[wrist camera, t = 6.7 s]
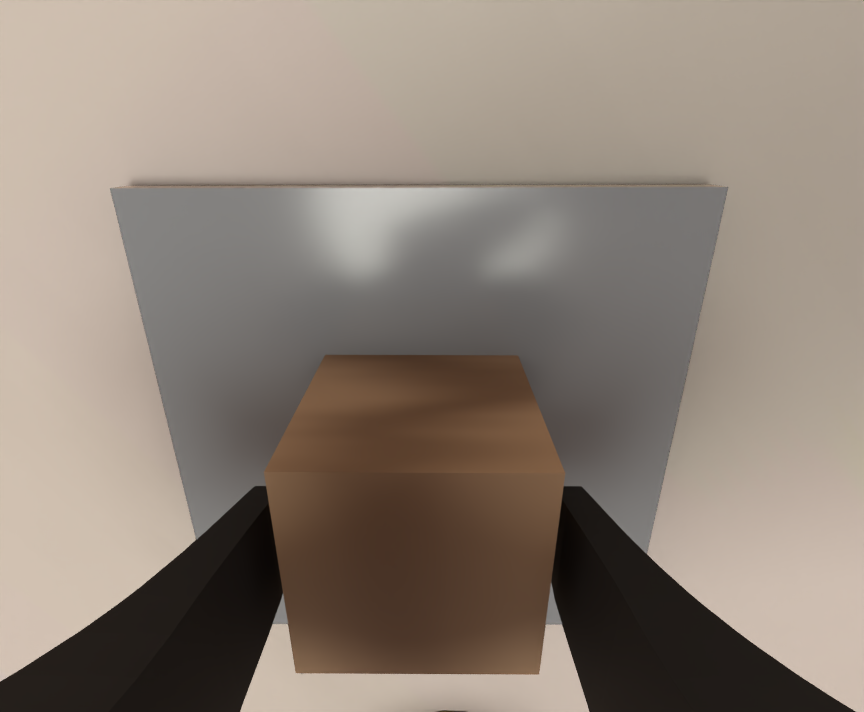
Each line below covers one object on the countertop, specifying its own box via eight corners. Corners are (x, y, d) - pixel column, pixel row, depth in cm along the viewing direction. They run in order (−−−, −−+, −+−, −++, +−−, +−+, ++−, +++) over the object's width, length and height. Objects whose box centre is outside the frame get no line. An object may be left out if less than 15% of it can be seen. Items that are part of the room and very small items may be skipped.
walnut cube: (517, 355, 13) (565, 473, 8) (506, 509, 15) (538, 674, 10) (325, 354, 13) (264, 472, 8) (339, 508, 15) (295, 673, 10)
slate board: (710, 184, 12) (728, 186, 11) (622, 604, 17) (631, 624, 17) (130, 185, 12) (110, 188, 11) (226, 603, 17) (216, 623, 17)
